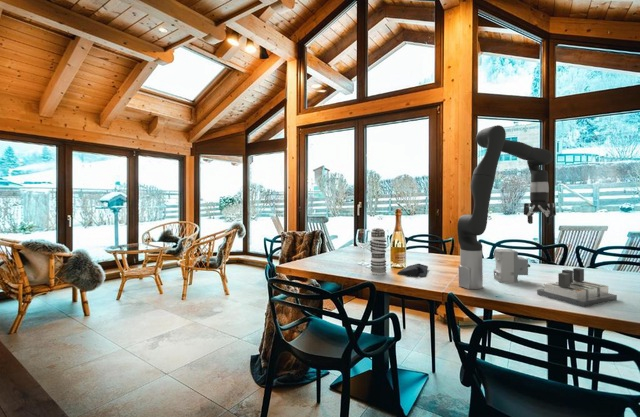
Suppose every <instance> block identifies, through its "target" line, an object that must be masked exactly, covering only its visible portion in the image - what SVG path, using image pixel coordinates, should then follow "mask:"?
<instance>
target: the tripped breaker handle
mask: <svg viewBox="0 0 640 417" xmlns="http://www.w3.org/2000/svg"><path fill="white" fill-rule="evenodd" d="M557 276H558V281H557V282H558V286H561V287H570V274H568V273H562V272H559V273H558V275H557Z"/></svg>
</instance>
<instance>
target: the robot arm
mask: <svg viewBox="0 0 640 417" xmlns="http://www.w3.org/2000/svg"><path fill="white" fill-rule="evenodd" d="M506 135H507V133H506V130H505V127H503V125H492V126H489V127H485V128H483V129H480V130H479V131H478V132H477V134H476V137H475V140H476V144H477V145H478V146H479V147H480V148H483V149H486V150H485V153H484V156H483V157H482V159H481V160H480V161H479V163H478V164H477V166H476V167H475V168H474V170H473V173H472V176H471V182H470V190H471V195H472V198H473V201H474V202H473V203H474V205H473V211H472V214H463V215H461V216H460V217H459V218H458V221H457V225H456V226H457V229H456V230H457V242H458V244H459V248H460V250H459V255H460V256H459V258H460V259H459V260H460V261H459V262H460V263H459V265H458V286H459V287H461V288H464V289H467V290H480V289H483V286H484V281H483V278H484V277H483V274H484V272H483V271H484V270H483V244H482V243H481V242H480V241H479V240H478V239H477V238H476V236H477V237H478V236H481V235H483V234H484V233H485V231H486V229H487V225H488V216H489V206H490V201H491V196H492V191H493V187H494V183H495V178H496V172H497V169H498V164H499V162H500V157H501V154H502V153H505V154H508V155H509V156H513V157H515V158H518V159H521V160H523V161H526V164H527V167H528V170H529V172H530V173H529V174H530V186H529V200H530V203H528V202H526V203H525V202H524V204H523V215H524V216H527V223H528V224H530V225H531V224H533V223H534V222H533V221H534V220H533V218H534V217H533V215H534V214H536V213H543V214H544V215H545V225H546V226H549V225H551V224H552V217H554V216H556V215H557V212H556V210H557V209H556V203H555V202H554V203H553V202H552V203H549V195H550V192H549V190H550V187H549V186H550V185H549V172H548V170H545V169H541V167H540V166H545V165H549V164H551V163H552V161H553V159H554V157H553V156H554V155H553V153H552V152H551V151H550V150H548V149H545V148H540V147H534V146H532V145H529V144H527V143H525V142H522V141H517V140H509V139H506V138H507V136H506ZM548 208H549V209H548Z"/></svg>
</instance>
